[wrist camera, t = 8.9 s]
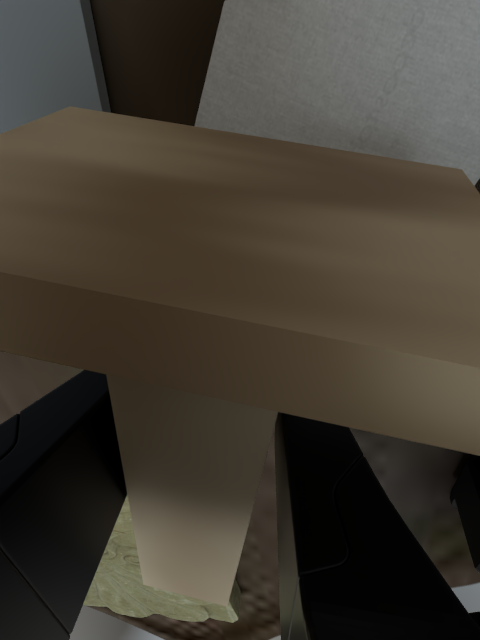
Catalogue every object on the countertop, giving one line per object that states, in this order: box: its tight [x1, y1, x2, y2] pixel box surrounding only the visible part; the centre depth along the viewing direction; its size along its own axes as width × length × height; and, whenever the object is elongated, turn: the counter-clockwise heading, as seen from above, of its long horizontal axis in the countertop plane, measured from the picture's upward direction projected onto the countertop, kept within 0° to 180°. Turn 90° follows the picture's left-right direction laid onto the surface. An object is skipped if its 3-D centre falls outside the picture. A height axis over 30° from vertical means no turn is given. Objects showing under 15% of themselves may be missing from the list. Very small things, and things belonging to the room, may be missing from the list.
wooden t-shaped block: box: [0, 106, 480, 607], centre depth 9 cm, size 7×11×5 cm, turn 174°
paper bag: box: [195, 0, 480, 186], centre depth 10 cm, size 4×7×10 cm
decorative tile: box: [83, 495, 241, 623], centre depth 31 cm, size 19×20×4 cm
